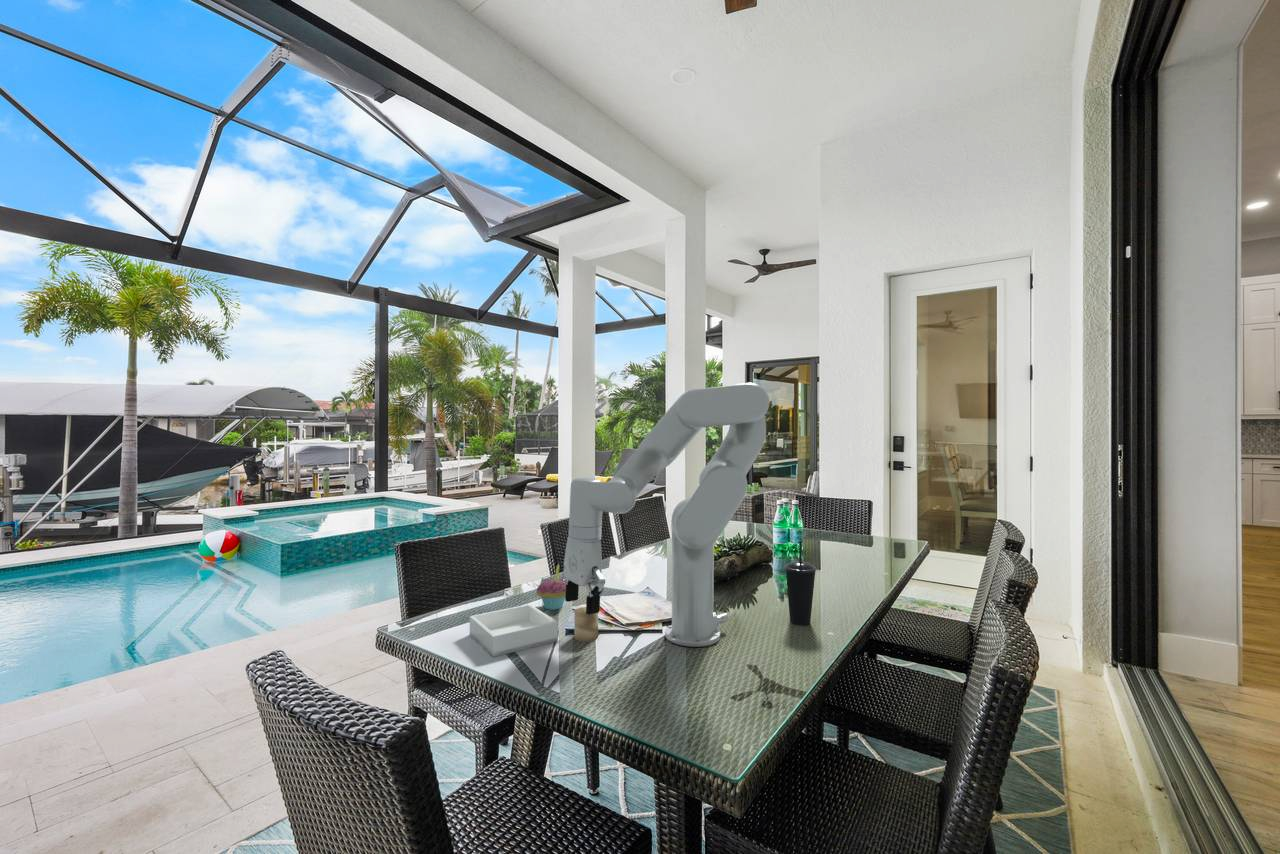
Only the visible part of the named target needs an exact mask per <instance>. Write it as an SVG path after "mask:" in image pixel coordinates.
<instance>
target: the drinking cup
mask: <svg viewBox="0 0 1280 854" xmlns="http://www.w3.org/2000/svg"><path fill="white" fill-rule="evenodd" d="M783 567H784V569H785V577H786V579H785V580H786V589H787V599H788V601H787V602H788V612H789V614H788V615H789V622H790V623H791V624H793V625H797V626H808V625H810V624H811V620H812V609H813V599H814V588H815V580H816V579H815V577H816V572H817V567H816V566H815V565H813V564H811V563H809V562H806V561H803V541H802V540H799V541H798V560H797V561H792V562H790V563H787V564H784V566H783Z"/></svg>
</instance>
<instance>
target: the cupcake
mask: <svg viewBox="0 0 1280 854" xmlns="http://www.w3.org/2000/svg"><path fill="white" fill-rule="evenodd" d="M559 572H560V562H558V563H557V566H556V570H555V578H554V579H548V580H544V581H542V582H541V583H540V584H538V586H537V588H536V594H537V596H539V597H540V598H541V600H542V603H543V607H544V608H545V610H559V609H561V608H563V607H564V606H563V605H564V602H565V593H566V583H565V580H564V581H563V580H562V579H559Z"/></svg>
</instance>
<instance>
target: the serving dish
mask: <svg viewBox="0 0 1280 854" xmlns="http://www.w3.org/2000/svg"><path fill="white" fill-rule="evenodd" d="M558 625H559V622H558V621H557V620H556V619H554V618H552V617H551V616H550V615H548V614H546V613H545V612H543V611H542V610H540V609H539V608H537V607H535V606H534V605H533V604H531V603H529V604H522V605H518V606H514V607H513V606H512V607H508V608H504V609H498V610H494V611H489V612H483V613H479V614H474V615H473V614H472V615H470V616H469V635H470V636H471V638H473V640H475V641H476V642H477V644H479V645H480V646H481V647H482V648H483V649H484V650H485V651H486V652H487V653H488V654H490V656H492V658H495V657H499V656H503V655H507V654H510V653H515V652H519V651H522V650H527V649H531V648H535V647H539V646H543V645H547V644H551V643H554V642H558V641H559V640H558V639H559V632H558V630H559V629H558Z"/></svg>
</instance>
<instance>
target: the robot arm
mask: <svg viewBox="0 0 1280 854" xmlns="http://www.w3.org/2000/svg"><path fill="white" fill-rule="evenodd" d="M769 397H770V396H769V395H768V392H767V391H766V390H765V388H763V387H762V386H761V385H759V384H757V383H753V382H746V383H737V384H731V385H729V384H728V385H721V386H715V387H713V386H712V387H704V388H692V389H689V390H687V391H686V392H684V393H683V394H681V395H680V396H679V397H678V398H677V399H676V401H674V403H673V404H672V405H671V406H670V408H669V409H668V410H667V411H666V412H665V413H664V415H663V416H662V417H661V418H660V419H659V420H658V422H657V423H656V424H655V425H654V427H652V429H651V430H650V431H649V432H648V433H647V434H646V435H645V437H644V438H643V439H642V441H640V443H639V445H638V447H637V448H636V450H635V451H634V452H633V453H632V454H631V456H630V457H629V458H628V459H627V460H626V462H625V463H624V464H623V465H622V466H621V467H620V468H619V469H618V470H617V472H616V473H615V474H614V475H613V476H612V478H611V479H609V481H602V480H601V479H599V478H594V477H577V478H574V479H573V480H572V481H571V483H570V487H569V488H570V491H569V493H570V494H569V512H568V513H569V515H568V536H567V541H566V544H565V545H566V546H565V551H564V552H565V553H564V561H563V576H564V582H565V583H566V593H565V600H564V602H568V603H569V602H575V601H578V600H579V588H580V587H585V588H586V592H587V594H588V595H586V600H585V601H586V604H585V605H586V606H585V607H586V614H588V615H589V614H594V613H598V614H599V613H600V612H601V611H600V608H601V596H602V595H603V594H602V593H603V591H604V588H605V584H606V578H605V577H604V575H603V573H602V572H603V571H602V569H603V564H602V563H603V560H602V556H603V555H602V544H601V543H602V542H601V540H602V527H603V512H605V513H610V514H615V515H617V514H618V515H619V514H620V515H621V514H622V515H623V514H626V513H628V512H629V511H631V510H632V509H633V508H634V507H635V506H636V505H635V504H636V502H637V497H638V496H639V494H640V493H641V492H643V490H644V489H645V488H646V486H647V485H648V484H649V483H650V482H651V480H652V479H653V478H655V476H656V475H657V474H659V473H660V472H661V471H662V470H664V469H665V468H667V467H668V466H670V465H671V464H672V463H673V462H674V461H675V460H676V459H677V458H678V457H679V455H680V454H681V453H682V452H683V451H684V450H685V448H687V446H688V444H690V443H691V441H692V440H693V439H694V438H695V437H696V436H697V435H698V433H699V432H700V431H701V429H702V428H711V427H712V428H713V427H722V426H729V427H728V431H727V433H726V436H725V438H724V439H723V440H722V442H721V444H720V446H719V447H718V449H717V450H716V451H715V453H714V454H713V455H712V458H710V460H709V461H708V462H707V464H706V465H705V466H704V468H703V469H702V471H701V473H700V474H699V478H698V479H699V481H698V482H699V483H698V484H699V485H698V487H697V488H696V490H695V492H694V493H693V494H692V496H691V497H690V498H689V497H688V498H686V499H682V501H680V502H678V504H676V506H675V508H674V509H673V511H672V514H671V525H670V526H671V545H672V547H671V556H672V558H671V560H672V562H671V565H672V567H671V625H669V626H667V627H666V628H665V630H664V637H665V638H666V640H668V641H669V642H671V643H673V644H675V645H679V646H681V647H682V646H684V647H691V648H692V647H693V648H695V647H696V648H699V647H708V646H711V645H714V644H716V643H718V642H719V641H720V639H721V631H720V630H719V629H718V628H717V627H718V626H719V625H720V624H724V623H727V622H728V621H729V615H728V613H722V614H719V615H717V613H716V612H714V599H715V597H714V591H715V590H714V586H715V585H714V581H715V580H714V579H715V577H714V576H715V575H714V573H715V572H714V570H715V550H714V549H715V548H714V547H715V546H714V543H715V542H716V541H717V540H718V538H719V537H720V536H721V534H722V532H723V531H724V530H725V529H726V527H727V525H728V524H729V522H730V521H731V519H732V518H733V516H734V515H735V514H736V512H737V511H738V509H739V507H740V506H741V504H742V503H743V501H744V499H745V497H746V494H747V490H748V480H747V474H748V473H749V471H750V469H752V466H753V465H754V462H755V461H756V459H758V456H759V455H760V452H761V451H762V450H763V447H764V444H765V440H766V435H767V424H766V423H767V422H766V418H765V415H766V414H767V412H768V410H769V407H770V398H769ZM579 586H580V587H579ZM592 587H593V588H592Z"/></svg>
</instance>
